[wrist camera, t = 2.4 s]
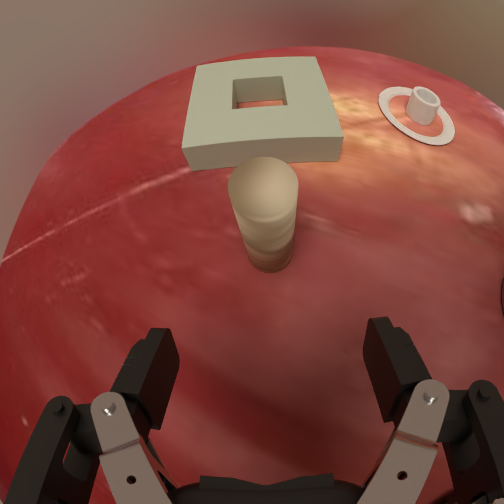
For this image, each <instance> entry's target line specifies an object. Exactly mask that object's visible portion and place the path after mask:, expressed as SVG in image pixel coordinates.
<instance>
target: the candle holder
mask: <svg viewBox="0 0 504 504" xmlns="http://www.w3.org/2000/svg"><path fill="white" fill-rule="evenodd" d="M396 95H408V96H410V99H409V101H408V104H407V107H406V114H407V115H408V117H409V118H410V119H411V120H412V121H414V122H415V123H417V124H420V125H423V126H428V125H430V124H431V123H432V121H433V119H434V117H435V115H436V113H438V115H439V116H440V118H441V120H442V122H443V127H444V128H443V132H442V133H441V134H440V135H439V136H436V137H427V136H423V135H420V134H417V133H415V132H413V131H411V130H409V129H408V128H406V127H405V126H403V125H402V124H401V123H400V122H398V121H397V120H396V119H395V118H394V116H393V115H392V114H391V112H390V110H389V100H390V99H391V98H392V97H394V96H396ZM378 103H379V106H380V108H381V110H382V112H383V113H384V115H385V116H386V117H387V118H388V120H389V121H390V122H391V123H392V124H393V125H395V126H396V127H397V128H398V129H399V130H401V131H402V132H404V133H405V134H407V135H409V136H410V137H412V138H414V139H416V140H419V141H421V142H424V143H427V144H432V145H444V144H447V143H449V142H451V141H452V139H453V138H454V135H455V129H454V125H453V122H452V120H451V118H450V117H449V115H448V114H447V112H446V111H445V110H444V109H443V108H442V107H441V106H440V100H439V98H438V97H437V95H436V94H435V93H433V92H432V91H430V90H429V89H427V88H424V87H415V88H414V89H410V88H405V87H390V88H387V89H385V90H384V91H382V92H381V93H380V94H379V102H378Z"/></svg>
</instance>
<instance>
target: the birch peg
mask: <svg viewBox="0 0 504 504" xmlns="http://www.w3.org/2000/svg"><path fill="white" fill-rule="evenodd" d="M228 193H229V196H230V200H231V203H232V206H233V209H234V212H235V216H236V219H237V222H238V225H239V229H240V232H241V235H242V238H243V242H244V245H245V248H246V251H247V254H248V258H249V260H250V262H251V264H252V265H253V266H254V267H255V268H256V269H257V270H259V271H261V272H264V273H275V272H278V271H281V270H282V269H284V268H285V267H286V266H287V265H288V263H289V262H290V260H291V256H292V248H293V238H294V228H295V217H296V206H297V195H298V179H297V176H296V174H295V172H294V170H293V169H292V168H291V167H290V166H289V165H288V164H287V163H285V162H283V161H282V160H279V159H276V158H273V157H256V158H252V159H249V160H247V161H245V162H243V163H241V164H240V165H239V166H237V167H236V168H235V169H234V171H233V172H232V174H231V175H230V178H229V181H228Z"/></svg>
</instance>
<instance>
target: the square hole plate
mask: <svg viewBox="0 0 504 504" xmlns="http://www.w3.org/2000/svg"><path fill="white" fill-rule="evenodd" d="M266 100H283V103H284V106H266V107H252V108H241V109H237V103H242V102H253V101H266ZM343 138H344V136H343V133H342V130H341V127H340V123H339V120H338V117H337V114H336V111H335V108H334V105H333V102H332V100H331V97H330V94H329V91H328V88H327V86H326V83H325V80H324V78H323V75H322V72H321V70H320V67H319V65H318V62H317V60H316V57H272V58H256V59H245V60H235V61H227V62H219V63H212V64H206V65H199V66H197V68H196V73H195V78H194V82H193V87H192V92H191V97H190V102H189V107H188V112H187V118H186V124H185V129H184V135H183V141H182V151H183V153H184V155H185V157H186V160H187V162H188V164H189V166H190V169H191V171H198V170H206V169H216V168H225V167H236V166H239V165H240V164H241V163H243V162H245V161H247V160H249V159H252V158H256V157H273V158H276V159H279V160H282V161H283V162H285V163H296V162H328V161H338V159H339V155H340V150H341V146H342V142H343Z"/></svg>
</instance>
